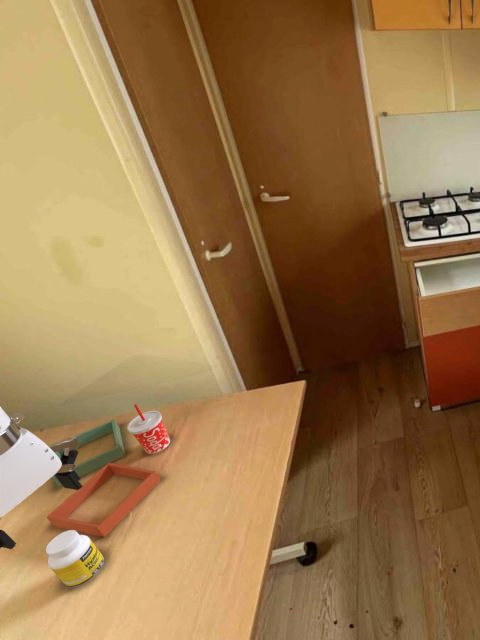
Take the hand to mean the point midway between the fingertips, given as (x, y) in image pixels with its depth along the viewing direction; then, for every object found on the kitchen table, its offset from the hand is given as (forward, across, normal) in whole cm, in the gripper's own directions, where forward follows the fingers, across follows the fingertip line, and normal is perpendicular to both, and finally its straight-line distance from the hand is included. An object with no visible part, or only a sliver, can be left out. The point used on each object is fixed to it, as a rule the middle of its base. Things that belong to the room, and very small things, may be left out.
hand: (42, 514), depth 70 cm
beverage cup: (+17, -25, -11) cm, 32 cm away
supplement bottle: (+17, 0, 0) cm, 17 cm away
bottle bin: (+17, -20, -24) cm, 35 cm away
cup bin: (+17, -11, -9) cm, 22 cm away
